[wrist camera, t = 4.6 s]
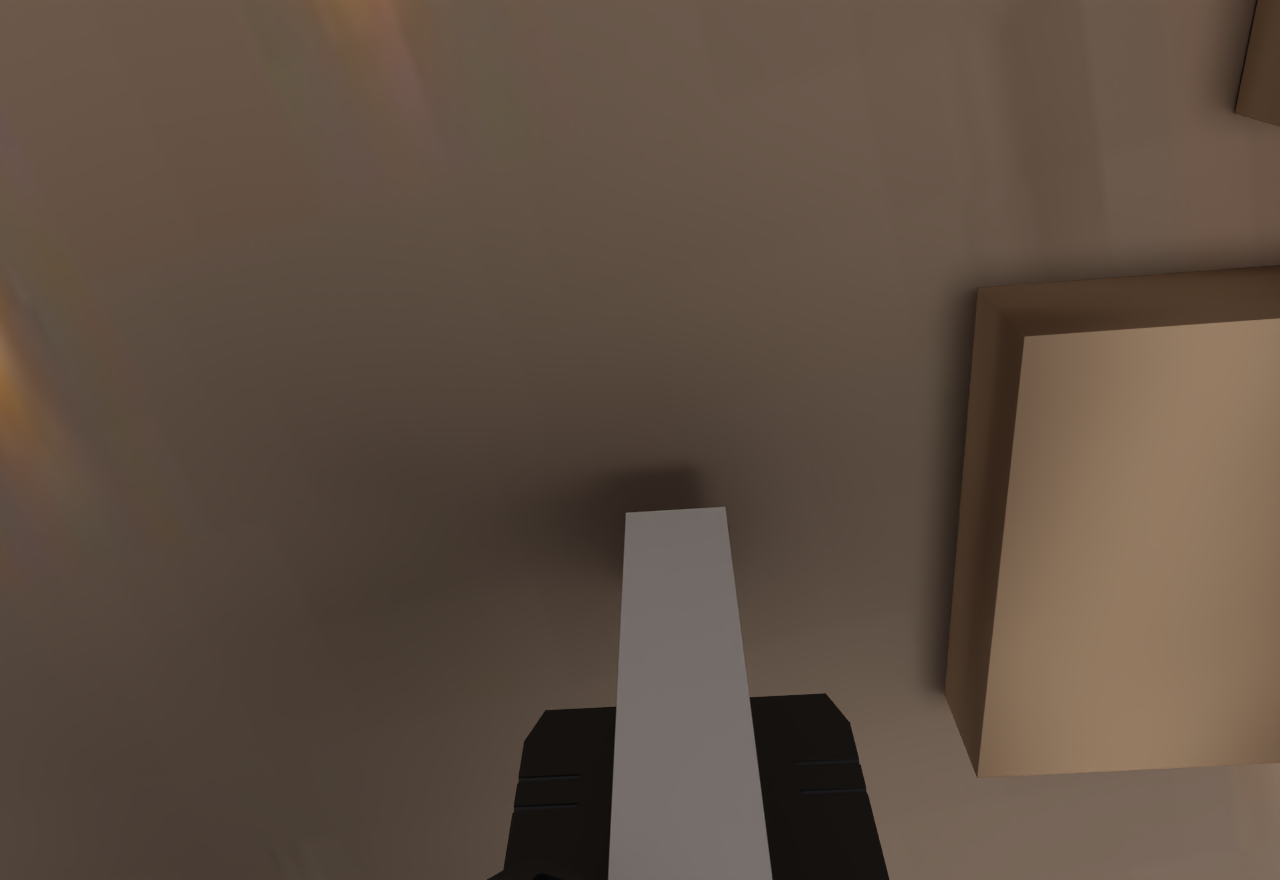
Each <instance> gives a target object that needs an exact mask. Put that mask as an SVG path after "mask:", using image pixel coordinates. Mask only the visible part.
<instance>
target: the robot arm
mask: <svg viewBox="0 0 1280 880" xmlns="http://www.w3.org/2000/svg"><path fill="white" fill-rule="evenodd" d="M487 880H889V876H888V872H887V868H886V864H885V860H884V856H883V852H882V848H881V844H880V841H879V837H878V833H877V829H876V825H875V821H874V817H873V813H872V809H871V805H870V801H869V797H868V794H867V792H866V785H865V781H864V777H863V773H862V769H861V765H859V757H858V753H857V749H856V745H855V741H854V737H853V733H852V729H851V725H850V722H849V721H848V720H847V719H846V717H845V716H844V715H843V714H842V713H841V711H840V710H839V709H838V708H837V707H836V705H835V704H834V703H833V702H832V701H831V699H830V698H829V697H828V696H827V695H826V694H806V695H787V696H767V697H749V691H748V683H747V675H746V667H745V659H744V651H743V643H742V635H741V628H740V620H739V612H738V604H737V596H736V588H735V580H734V572H733V564H732V557H731V549H730V541H729V533H728V525H727V517H726V509H725V507H712V508H696V509H679V510H663V511H647V512H630V513H626V522H625V543H624V563H623V584H622V605H621V625H620V646H619V666H618V687H617V707H602V708H583V709H563V710H545V712H544V713H543V715H542V716H541V718H540V719H539V721H538V722H537V724H536V725H535V726H534V728H533V729H532V731H531V732H530V734H529V735H528V737H527V738H526V740H525V741H524V746H523V752H522V759H521V765H520V771H519V783H518V784H517V790H516V796H515V802H514V813H513V814H512V820H511V827H510V833H509V839H508V845H507V851H506V858H505V864H504V870H503V871H501V872H500V873H498V874H496V875H494V876H493V877H491V878H489V879H487Z"/></svg>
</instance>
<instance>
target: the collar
mask: <svg viewBox="0 0 1280 880" xmlns="http://www.w3.org/2000/svg"><path fill="white" fill-rule="evenodd" d="M1235 114H1239V115H1242V116H1246V117H1249V118H1252V119H1256V120H1259V121H1263V122H1266V123H1270V124H1273V125H1277V126H1280V0H1258V1H1257V6H1256V11H1255V16H1254V21H1253V26H1252V31H1251V36H1250V41H1249V46H1248V51H1247V56H1246V61H1245V66H1244V71H1243V76H1242V81H1241V86H1240V91H1239V96H1238V101H1237V106H1236V111H1235Z"/></svg>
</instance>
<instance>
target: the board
mask: <svg viewBox="0 0 1280 880" xmlns="http://www.w3.org/2000/svg"><path fill="white" fill-rule="evenodd" d="M945 696H946V699H947V702H948V704H949V707H950V709H951V712H952V714H953V717H954V719H955V722H956V725H957V727H958V730H959V732H960V735H961V737H962V740H963V743H964V745H965V748H966V750H967V753H968V755H969V758H970V761H971V763H972V766H973V768H974V771H975V773H976V776H977V778H984V777H1005V776H1025V775H1045V774H1065V773H1085V772H1105V771H1125V770H1145V769H1165V768H1185V767H1205V766H1225V765H1245V764H1265V763H1280V265H1277V266H1264V267H1250V268H1237V269H1224V270H1210V271H1197V272H1183V273H1170V274H1157V275H1143V276H1130V277H1117V278H1103V279H1090V280H1076V281H1063V282H1050V283H1036V284H1023V285H1009V286H996V287H983V288H978V295H977V307H976V319H975V331H974V343H973V355H972V367H971V380H970V392H969V404H968V416H967V428H966V440H965V452H964V464H963V477H962V489H961V501H960V513H959V525H958V537H957V549H956V561H955V573H954V586H953V598H952V610H951V622H950V634H949V646H948V658H947V670H946V682H945Z"/></svg>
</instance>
